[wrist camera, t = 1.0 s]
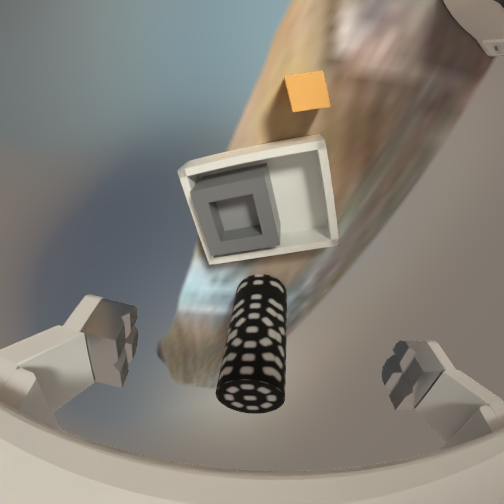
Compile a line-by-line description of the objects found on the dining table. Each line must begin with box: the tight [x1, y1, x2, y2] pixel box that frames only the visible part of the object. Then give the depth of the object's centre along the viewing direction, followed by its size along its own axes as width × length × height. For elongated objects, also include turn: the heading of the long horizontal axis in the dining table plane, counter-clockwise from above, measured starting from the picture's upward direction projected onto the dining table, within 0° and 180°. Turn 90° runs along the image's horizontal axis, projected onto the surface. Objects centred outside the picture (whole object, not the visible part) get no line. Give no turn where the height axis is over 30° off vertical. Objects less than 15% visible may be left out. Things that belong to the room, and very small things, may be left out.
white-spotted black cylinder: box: [216, 274, 287, 413], centre depth 42 cm, size 8×8×20 cm
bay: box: [177, 134, 339, 265], centre depth 38 cm, size 18×14×7 cm
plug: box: [284, 71, 331, 112], centre depth 30 cm, size 4×4×7 cm
